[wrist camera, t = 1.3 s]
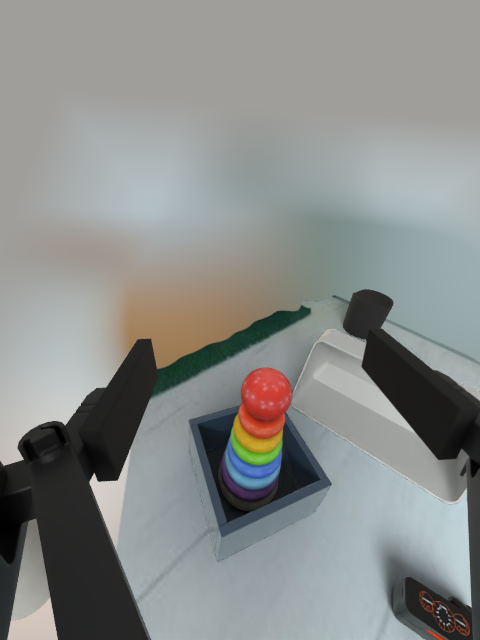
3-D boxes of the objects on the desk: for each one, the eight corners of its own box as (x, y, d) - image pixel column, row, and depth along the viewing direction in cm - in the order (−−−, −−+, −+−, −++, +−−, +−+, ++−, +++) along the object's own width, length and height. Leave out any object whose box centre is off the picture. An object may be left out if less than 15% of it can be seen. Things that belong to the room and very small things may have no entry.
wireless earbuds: (479, 680, 22) (504, 677, 20) (390, 617, 25) (405, 609, 23) (468, 610, 25) (489, 603, 24) (391, 562, 28) (404, 551, 26)
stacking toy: (289, 487, 33) (331, 389, 23) (241, 530, 29) (267, 432, 19) (252, 440, 39) (273, 342, 28) (206, 470, 34) (212, 368, 24)
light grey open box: (456, 427, 44) (503, 376, 38) (455, 509, 33) (521, 457, 27) (322, 360, 56) (339, 312, 49) (287, 404, 45) (304, 349, 38)
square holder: (188, 450, 36) (188, 419, 32) (267, 424, 41) (275, 395, 37) (217, 562, 27) (221, 537, 23) (315, 512, 31) (332, 484, 28)
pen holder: (383, 343, 64) (400, 309, 59) (345, 337, 65) (359, 303, 59) (370, 323, 72) (385, 291, 67) (337, 318, 73) (349, 286, 67)
